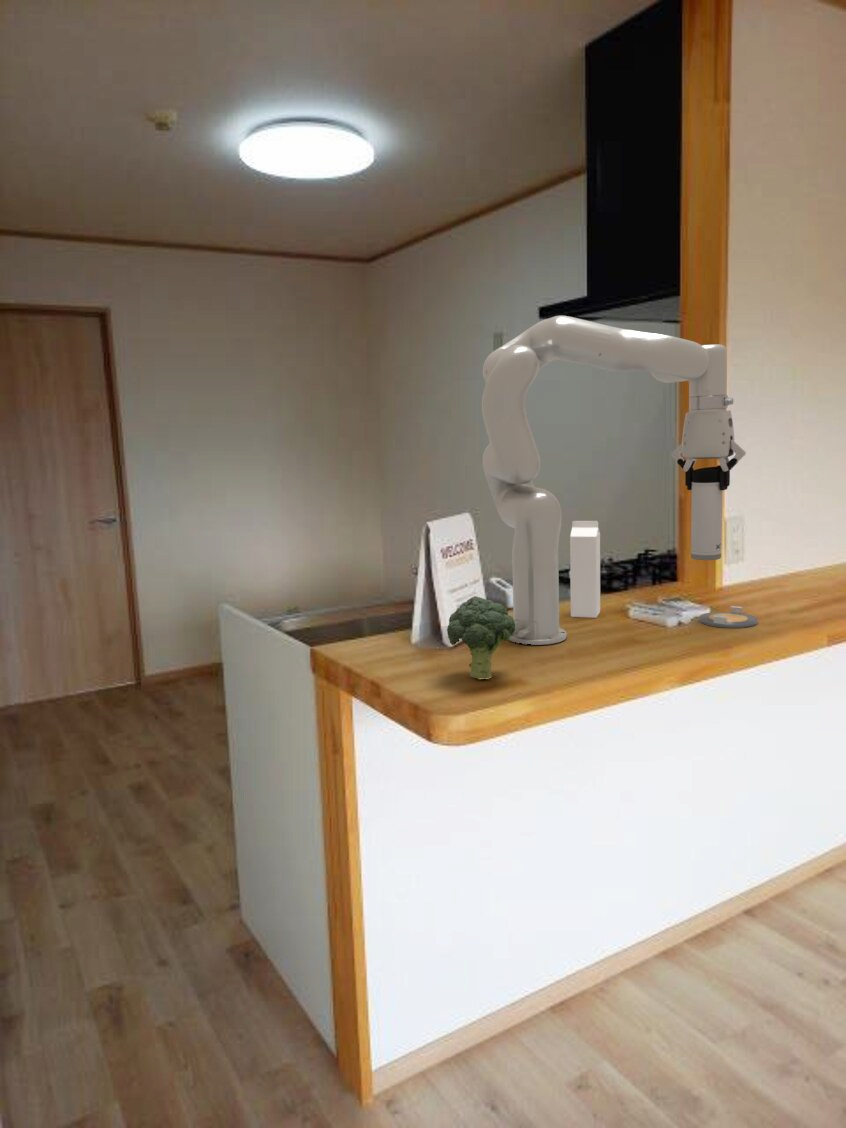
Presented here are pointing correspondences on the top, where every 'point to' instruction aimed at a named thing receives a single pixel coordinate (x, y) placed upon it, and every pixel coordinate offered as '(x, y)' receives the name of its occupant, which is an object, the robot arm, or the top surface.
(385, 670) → the top surface
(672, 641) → the top surface
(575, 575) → the milk
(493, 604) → the vegetable
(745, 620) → the base
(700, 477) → the travel mug
